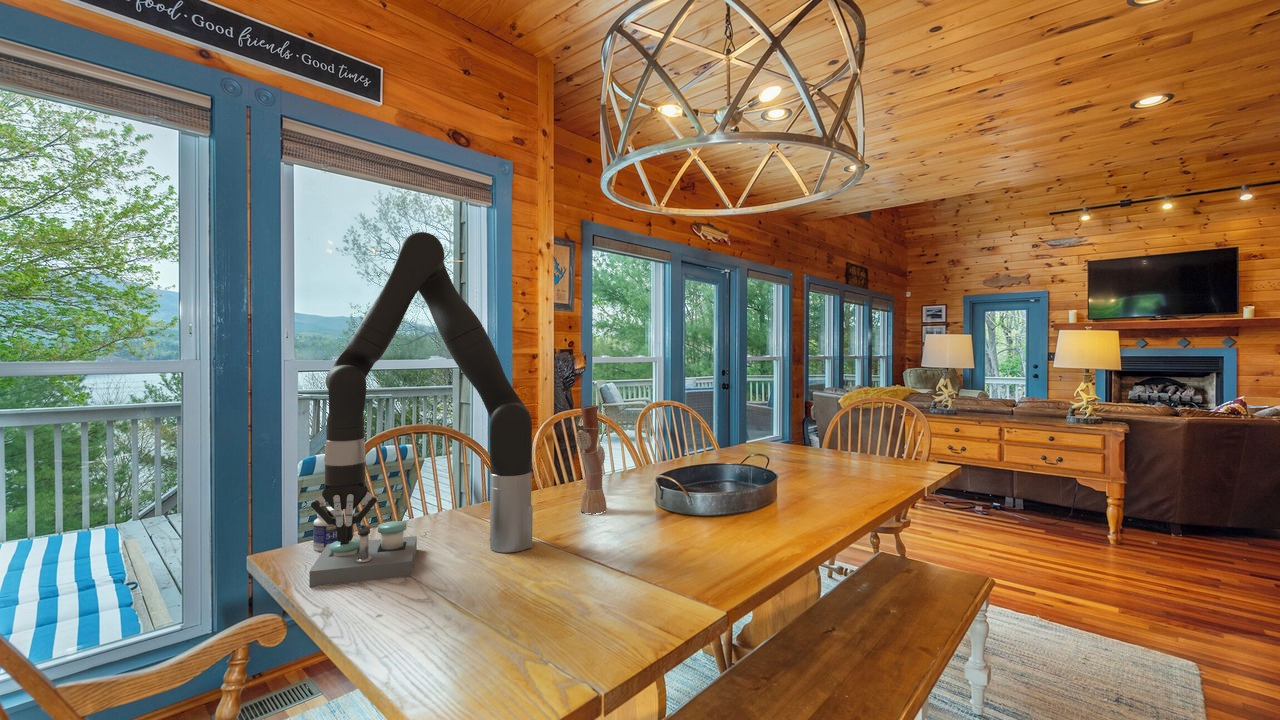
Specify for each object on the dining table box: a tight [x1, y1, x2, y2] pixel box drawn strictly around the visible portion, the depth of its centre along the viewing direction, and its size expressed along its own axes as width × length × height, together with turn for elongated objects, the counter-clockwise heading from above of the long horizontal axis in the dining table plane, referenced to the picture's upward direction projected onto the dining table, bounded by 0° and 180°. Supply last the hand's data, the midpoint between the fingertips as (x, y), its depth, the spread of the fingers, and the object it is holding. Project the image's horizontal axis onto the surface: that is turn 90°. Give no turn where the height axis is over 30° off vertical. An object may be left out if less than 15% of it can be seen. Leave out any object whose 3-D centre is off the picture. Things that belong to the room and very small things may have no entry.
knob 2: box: [377, 520, 407, 550], centre depth 121 cm, size 6×6×4 cm
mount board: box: [308, 535, 418, 588], centre depth 118 cm, size 18×16×3 cm
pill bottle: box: [312, 506, 337, 552], centre depth 129 cm, size 5×5×9 cm
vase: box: [576, 404, 607, 514], centre depth 159 cm, size 10×7×30 cm
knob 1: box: [330, 538, 360, 556], centre depth 119 cm, size 6×6×4 cm
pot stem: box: [356, 525, 372, 563], centre depth 113 cm, size 3×3×7 cm
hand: (345, 543), depth 119 cm, fingers closed
